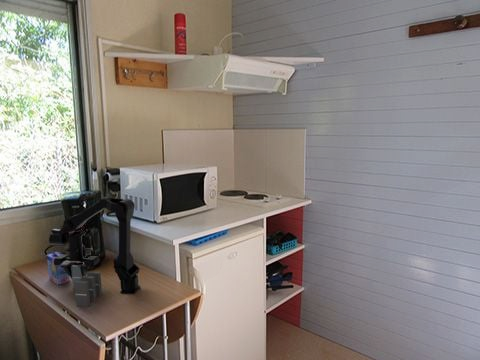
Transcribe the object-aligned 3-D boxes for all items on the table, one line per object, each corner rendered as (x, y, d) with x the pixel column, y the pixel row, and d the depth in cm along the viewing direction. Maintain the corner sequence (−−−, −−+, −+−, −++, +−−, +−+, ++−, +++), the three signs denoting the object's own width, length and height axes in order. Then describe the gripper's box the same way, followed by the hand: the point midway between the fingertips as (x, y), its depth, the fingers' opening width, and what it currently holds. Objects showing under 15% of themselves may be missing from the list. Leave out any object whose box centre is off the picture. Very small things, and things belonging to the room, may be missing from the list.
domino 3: (96, 299, 144) (94, 276, 142) (94, 301, 142) (92, 278, 141) (85, 298, 144) (83, 275, 143) (82, 300, 143) (80, 277, 141)
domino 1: (85, 287, 155) (83, 265, 154) (83, 288, 154) (81, 267, 152) (75, 286, 156) (73, 265, 154) (73, 288, 154) (70, 266, 153)
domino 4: (102, 294, 148) (100, 271, 147) (100, 296, 147) (98, 273, 145) (91, 293, 149) (89, 271, 147) (89, 295, 147) (87, 272, 146)
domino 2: (90, 304, 139) (88, 281, 138) (87, 306, 138) (85, 283, 136) (78, 304, 140) (76, 280, 139) (76, 306, 138) (73, 282, 137)
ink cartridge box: (48, 279, 164) (45, 249, 161) (60, 275, 168) (57, 246, 166) (57, 285, 157) (54, 254, 155) (69, 281, 161) (67, 251, 159)
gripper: (105, 239, 158) (107, 272, 161) (67, 238, 161) (70, 270, 163) (91, 248, 147) (94, 283, 150) (50, 246, 150) (54, 281, 152)
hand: (78, 278), depth 154 cm, fingers closed on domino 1, 5 cm apart
